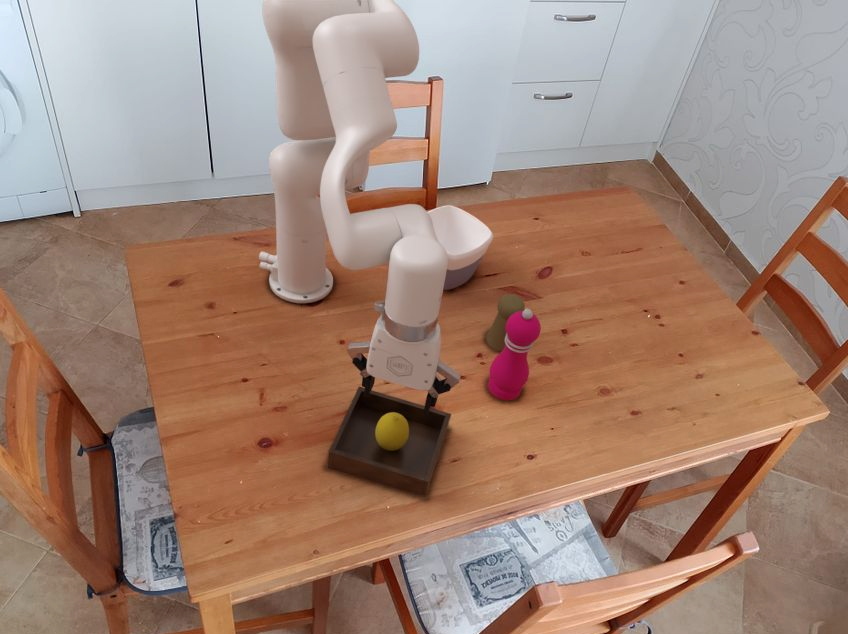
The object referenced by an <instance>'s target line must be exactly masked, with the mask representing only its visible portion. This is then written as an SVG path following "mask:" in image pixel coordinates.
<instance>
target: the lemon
mask: <svg viewBox="0 0 848 634" xmlns="http://www.w3.org/2000/svg"><path fill="white" fill-rule="evenodd" d="M375 436H376V440H377V442H378V444H379V445H380V446H381V447H382V448H383V449H385V450H388V451H395V450H398V449H400V448H402V447H403V446H404V445H405V443H406V441H407V439H408V436H409V426H408V422H407V420H406V419H405V418H404V416H402V415H401V414H399V413H395V412H391V413H387V414H385V415H384V416H382V417H381V419H380V420H379V421H378V423H377V426H376V430H375Z"/></svg>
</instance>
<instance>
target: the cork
mask: <svg viewBox="0 0 848 634" xmlns="http://www.w3.org/2000/svg"><path fill="white" fill-rule="evenodd" d="M496 306H497V307H496V308H497V314H496V316H495V317H494V320H493V322H492V324H491V327H490V328H489V330H488V332H487V335H486V338H485V340H486V343H487V345H488V346H489V347H490V348H492V349H493V350H494V351H497V352H500V353H501V352H502V351H503V349H504V348H505V346H506V344H505V337H506V323H507V320H508V319H509V317H510V316H511V315H512V314H514V313H516V312H519V311H524V310H525V309H526V305H525V302H524V300H523V299H522V298H521V296H518V295H516V294H513V293H507V294H504V295H502V296H501V297H500V298H499V300H498V302H497V305H496Z"/></svg>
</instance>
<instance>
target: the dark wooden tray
mask: <svg viewBox="0 0 848 634" xmlns="http://www.w3.org/2000/svg"><path fill="white" fill-rule="evenodd" d="M364 389H365V387H362V386H358V387H357V389H356V392H355V394H354V396H353V398H352V400H351V402H350V404H349V406H348V408H347V411H346V412H345V415H344V417H343V419H342V421H341V424H340V425H339V428H338V430H337V432H336V434H335V436H334V438H333V441H332V443H331V445H330V447H329V449H328V453H327V454H328V455H327V468H330V469H333V470H335V471H339V472H343V473H346V474H349V475H353V476H356V477H359V478H362V479H365V480H369V481H371V482H375V483H377V484H382V485H385V486H388V487H391V488H394V489H395V488H396V489H398V490H402V491H405V492H408V493H412V494H415V495H418V496H421V497H426V496H427V493H428V489H429V488H430V484H431V481H432V478H433V474H434V471H435V468H436V465H437V462H438V459H439V456H440V452H441V450H442V447H443V444H444V441H445V437H446V435H447V432H448V428H449V424H450V421H451V417H452V414H451V413H449V412H446V411H443V410H440V409H436V408H434V407H430V410H429V413H428V414H427V413H425V412H424V408H425V405H423V404H420V403H416V402H414V401H413V402H412V401H410V400H405V399H403V398H400V397H396V396H392V395H389V394H385V393H382V392H379V391H376V390H371V392H370V394H369V396H365V395H364ZM391 412H395V413H399V414H401V415H402V416H404V418H405V419H406V420H407V422H408V426H409V436H408V439H407V441H406V443H405V445H404V446H403V447H402V448H400V449H398V450H395V451H388V450H385V449H383V448H382V447H381V446H380V445H379V444H378V442H377V440H376V436H375V430H376V426H377V423H378V421H379V420H380V419H381V417H382V416H384V415H385V414H387V413H391Z"/></svg>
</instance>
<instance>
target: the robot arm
mask: <svg viewBox="0 0 848 634" xmlns="http://www.w3.org/2000/svg"><path fill="white" fill-rule="evenodd" d="M261 15H262V20H263V21H262V22H263V25H264V29H265V33H266V35H267V37H268V40H269V42H270V45H271V48H272V51H273V56H274V63H275V64H274V65H275V66H274V67H275V69H274V71H275V95H276V96H275V100H276V105H275V106H276V117H277V118H276V119H277V124H278V127H279V130H280V132H281V133H282V135H283V136H285V137H286V138H287V139H290V140H291V141H287V142H284V143H281V144H278V145H277V146H276V147H274V148H273V149H272V151H271V152H270V154H269V158H268V168H269V174H270V178H271V183H272V188H273V193H274V204H275V205H274V207H275V233H276V235H275V237H276V254H271V253H269V252H265V251H260V253H259V254H258V261H260V263H259V269H262V270H264V271H269V272H270V274H269V278H268V283H269V287H270V290H272V292H273V293H274V294H275V295H276V296H277V297H279V298H280V299H282V300H284V301H287V302H289V303H294V304H295V303H296V304H311V303H315V302H318V301H321V300H322V299H324V298H326V297H327V296H328V295H329V294H330V293H331V291H332V290H333V286H334V276H333V274H332V272H331V271H330V269H329V268H328V267H327V251H328V250H327V247H328V241H329V244H330V247H331V250H332V253H333V255H334V258H335V259H336V261H337V262H338V264H339V265H340V266H342V267H343V268H344V269H346V270H350V271H361V270H367V269H372V268H376V267H382V266H387V265H388V273H387V280H386V291H385V298H384V301H375V303H374V305H373V311H375V312H378V313H379V314H380V316H379V317H378V319H377V321H376V322H375V325H374V328H373V330H372V331H373V332H372V335H371V339H370V340H368V341H367V340H366V341H357V342H356V341H355V342H350V343H349V345H348V346H347V348H346V351H347V354H348V355H349V357H350V359H352V360H351V362H352V364H353V365H354V367H356V369H357V370H358V371H359V372H360V373H359V375H360V377H361V387H362V388H365V389H364V395H365V396H369V394H370V392H371V390H372V389H373V387H374V386H375V383H376V379H379V380H382V381H385V382H388V383H392V384H395V385H398V386H402V387H405V388H409V389H412V390H417V391H420V392H421V391H422V392H423V391H425V392H426V391H427V394H426V397H425V404H424V406H425V408H424V412H425V413H427V414H428V413H429V410H430V408H435V407H436V405H437V402H438V399H439V398H438V397H439V395H443V394H445V393H448V392H450V391H451V389H452V388H454V387H456V386H457V385H458V384H459V383H460V382H461V378H462V374H461V373H459V372H458V371H457V370H455V369H454V368H453V367H451V366H450V365H448V364H447V363H445V362H444V361H443V360H441V352H442V351H441V349H442V333H441V326H440V324H439V323H438V319H439V316H440V315H439V313H440V308H441V304H442V297H443V293H444V289H443V288H444V282H445V277H446V271H447V266H448V256H447V252H446V250H445V249H444V247H443V246H442V245H441V244H440V243H439V242H438V241H437V238H436V235H435V232H434V227H433V222H432V219H431V217H430V215H429V214H428V213H427V212H428V211H427V210H426V209H425V208H424V207H423V206H422V205H419V204H417V203H408V204H400V205H395V206H390V207H382V208H376V209H370V210H364V211H359V212H353V213H351V212H350V210H349V209H350V208H349V207H348V201H347V197H346V190H352V189H355V188H356V189H357V188H359V187H361V186H362V185H363V184H365V182H366V181H367V178H368V175H369V170H370V159H371V158H370V157H371V151H373V150H374V149H376V148H379V146H381V145H383V144H384V143H386V142H387V141H388V140H390V139H391V138H392V137H393V136H394V135H395V134H396V131H397V130H398V129H397V128H398V121H397V119H396V114H395V111H394V107H393V103H392V100H391V96H390V92H389V89H388V84H387V80H386V79H388V78H398V77H399V78H400V77H407V76H409V75H411V74H412V73H414V71H415V70H416V69H417V66H418V65H419V60H420V44H419V39H418V35H417V32H416V30H415V29H416V28H415V27H414V25H413V23H412V21H411V19H410V18H409V16H408V15H407V14H406V12H405V11H404V10H403V8H402V7H401V6H400V5H398V4H397V3H396V2H395V0H262V5H261ZM364 354H367V357H366V356H364ZM437 373H438V374H439V375H441V376H442V377H443V378H444V379H441V378H440V377H439V375H438V374H437Z"/></svg>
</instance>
